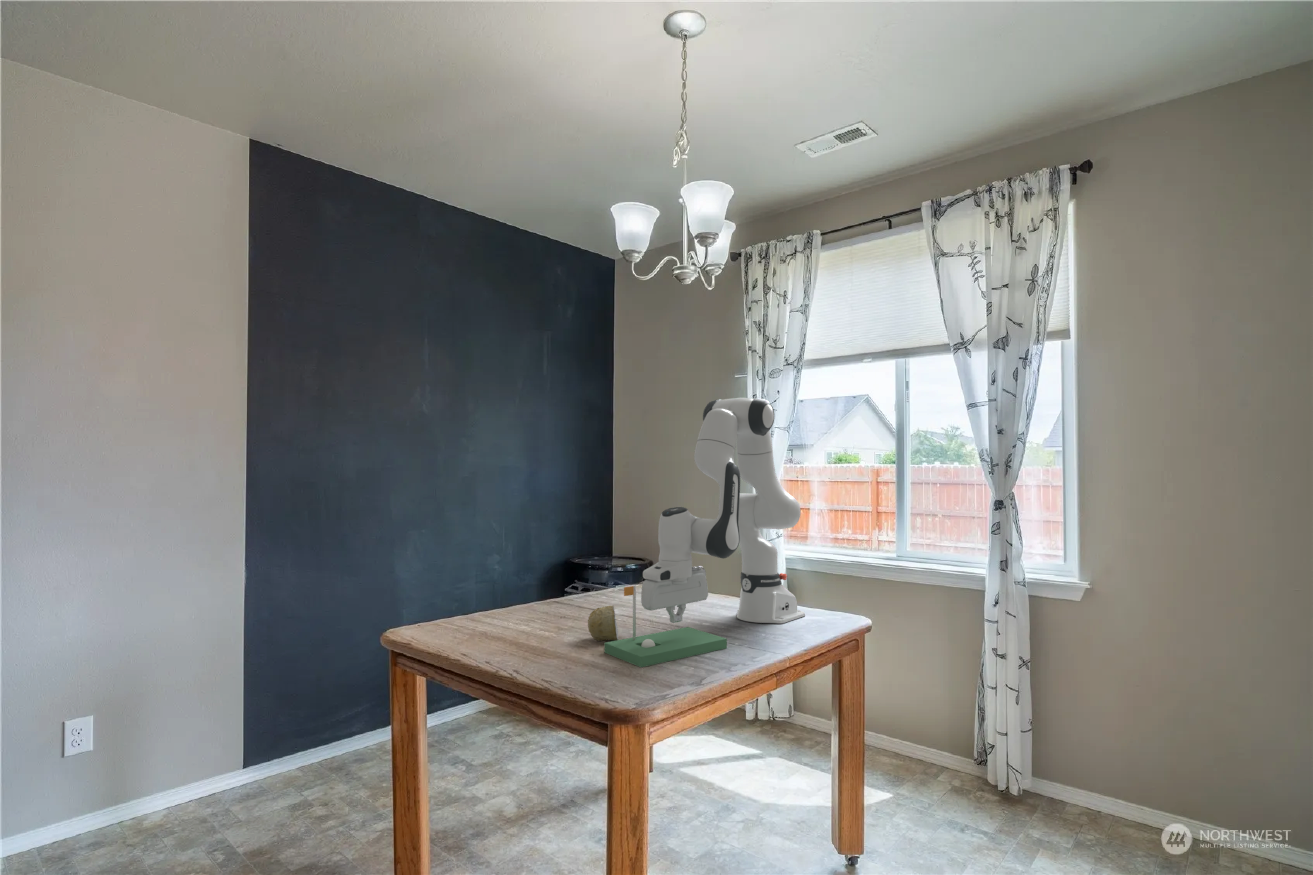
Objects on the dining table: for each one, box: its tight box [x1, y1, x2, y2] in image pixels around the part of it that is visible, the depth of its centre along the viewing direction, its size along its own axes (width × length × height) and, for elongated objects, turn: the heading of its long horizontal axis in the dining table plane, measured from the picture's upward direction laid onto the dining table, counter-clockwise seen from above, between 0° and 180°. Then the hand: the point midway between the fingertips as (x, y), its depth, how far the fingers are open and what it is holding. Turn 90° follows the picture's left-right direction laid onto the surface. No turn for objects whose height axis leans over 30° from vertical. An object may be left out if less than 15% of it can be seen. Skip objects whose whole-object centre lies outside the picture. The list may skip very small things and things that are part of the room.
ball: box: [641, 639, 655, 648], centre depth 176 cm, size 4×4×4 cm
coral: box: [587, 605, 619, 642], centre depth 190 cm, size 10×10×10 cm
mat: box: [603, 585, 728, 668], centre depth 180 cm, size 28×16×16 cm, turn 127°
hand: (676, 621), depth 182 cm, fingers closed
